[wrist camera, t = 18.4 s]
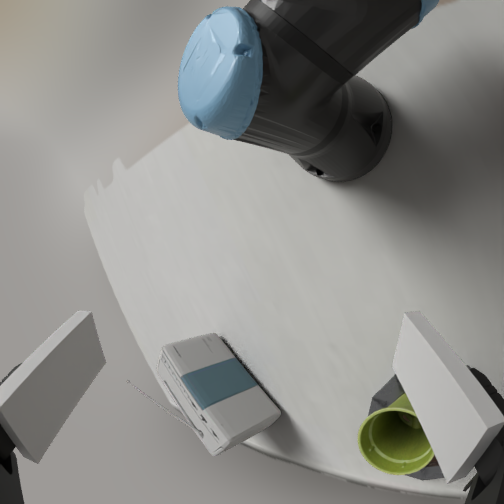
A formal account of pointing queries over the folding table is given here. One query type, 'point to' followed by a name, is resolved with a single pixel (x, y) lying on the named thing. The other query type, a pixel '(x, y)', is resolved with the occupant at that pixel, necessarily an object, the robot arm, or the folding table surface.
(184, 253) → the folding table surface
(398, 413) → the plant pot
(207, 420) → the stereo radio cassette player
